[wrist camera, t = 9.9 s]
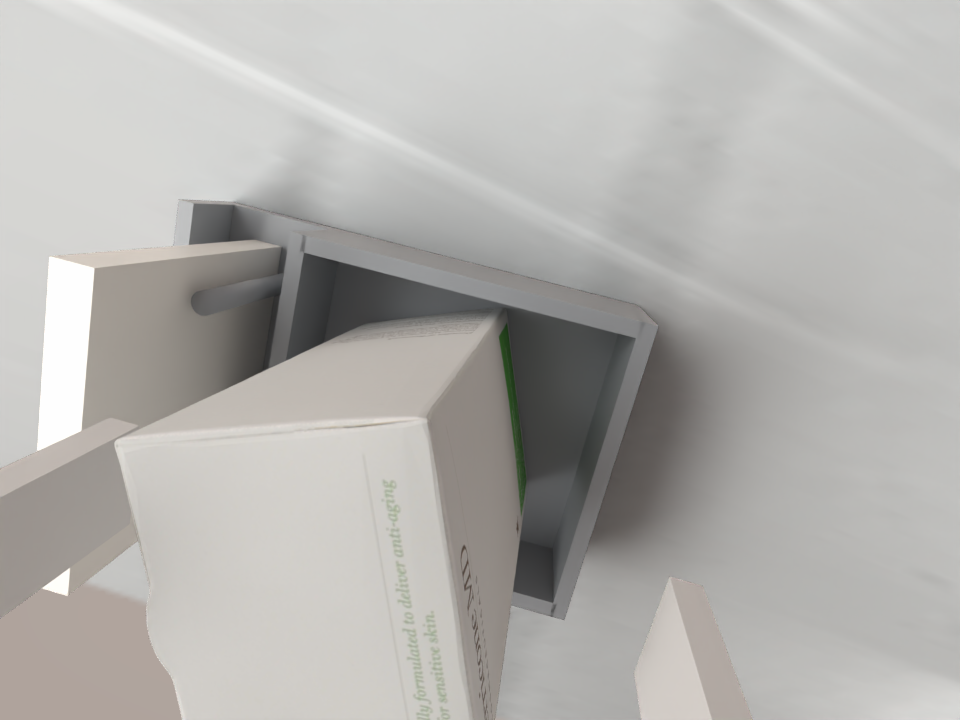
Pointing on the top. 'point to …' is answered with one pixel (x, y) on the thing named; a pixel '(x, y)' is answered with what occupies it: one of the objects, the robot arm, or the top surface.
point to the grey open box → (319, 318)
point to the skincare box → (339, 528)
